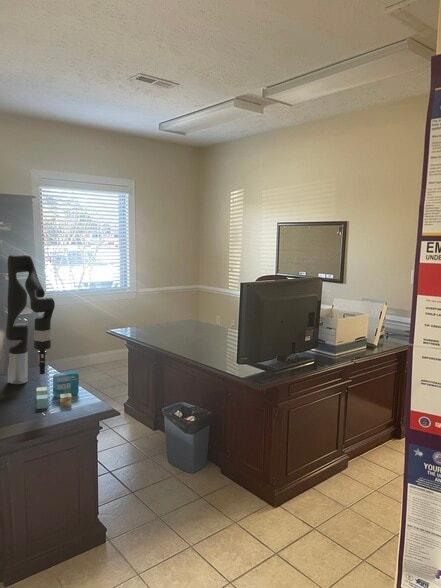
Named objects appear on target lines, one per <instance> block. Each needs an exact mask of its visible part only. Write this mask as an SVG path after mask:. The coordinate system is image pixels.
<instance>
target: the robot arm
mask: <svg viewBox="0 0 441 588" xmlns="http://www.w3.org/2000/svg"><path fill="white" fill-rule="evenodd" d="M26 272H27V273H28V274H27V275H28V276H27V278H26V279H25V283H24V284H25V285H24V287H23V285H22V284H21V282H19V280H18V277H17V273H26ZM7 274H8V280H7V281H8V288H7V316H6V317H7V319H6V329H5V337H6V339H7V341H19V342H18V343H16V344H13V345H11V346H10V347H9V351H8V356H9V357H8V358H9V359H8V360H9V361H8V363H9V364H8V365H7V383H8V384H10V385H23V384H26V383H27V382H28V362H29V361H28V352H29V351H28V339H29V326H28V324H27V323H25V322H20V323H15V321H16V320H17V318H18V317H19V315H21V313H22V312H23V310H25V308H26V306H27V302H28V297H29V299H30V303H29V304H30V310H31V311H33V312H34V313H36V314H37V313H42V315H40V316H38V317H36V318H35V319H34V330H33V331H34V334H33V349H35V350H37V358H38V360H37V361H38V363H39V365H38V366H39V375H45V373H46V363H47V356H48V351H46V350H50V349H51V348H52V332H51V331H52V330H51V325H52V324H51V321H52V316H53V312H54V309H55V305H56V303H55V299H54V298H52V297H51V296H45V295H46V294H45V292H46V291H45V290H44V287H43V286H42V284H41V281H40V279H39V277H38V273H37V270H36V267H35V263H34V261H33V258H32V256H31V255H29V254H28V253H19V254H10V255H9V256H8V257H7Z"/></svg>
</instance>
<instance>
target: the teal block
mask: <svg viewBox="0 0 441 588" xmlns="http://www.w3.org/2000/svg"><path fill="white" fill-rule="evenodd" d="M48 407H49V395H48V394H47V395H37V400H36V410H42V409H48Z"/></svg>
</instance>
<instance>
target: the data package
mask: <svg viewBox="0 0 441 588" xmlns="http://www.w3.org/2000/svg"><path fill="white" fill-rule="evenodd" d="M79 378H80V375H79V373H77V372H76V371H75V370H73V371H64V372H58V373H54V374H53V376H52V394H53V396H54V397H55V399H56V398H57V399H60V394H68V393H71V397H73V396H77V395H78V394H79V392H80V391H79V388H80V384H79V383H80V379H79Z"/></svg>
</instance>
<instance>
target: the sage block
mask: <svg viewBox="0 0 441 588" xmlns="http://www.w3.org/2000/svg"><path fill="white" fill-rule="evenodd" d="M37 395H48V386H41V387H40V386H39V387H36V401H37Z"/></svg>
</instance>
